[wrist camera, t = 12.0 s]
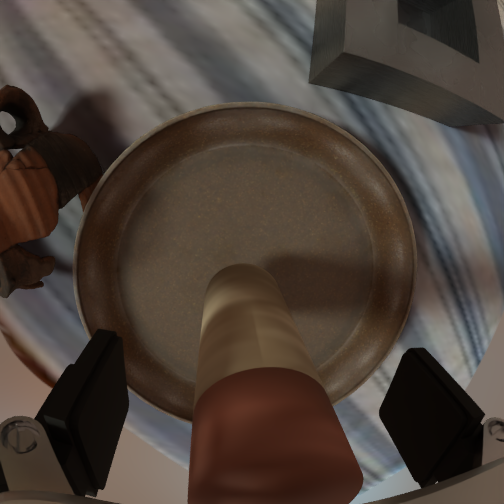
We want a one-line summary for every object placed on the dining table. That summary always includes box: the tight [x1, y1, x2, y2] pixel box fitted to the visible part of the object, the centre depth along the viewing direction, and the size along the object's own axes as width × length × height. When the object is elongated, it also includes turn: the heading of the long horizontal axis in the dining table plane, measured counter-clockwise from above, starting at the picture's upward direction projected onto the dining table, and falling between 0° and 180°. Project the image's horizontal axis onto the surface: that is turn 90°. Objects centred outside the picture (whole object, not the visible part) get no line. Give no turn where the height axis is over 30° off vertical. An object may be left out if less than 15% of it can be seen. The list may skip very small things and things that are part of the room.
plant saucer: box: [73, 102, 417, 424], centre depth 19 cm, size 21×21×3 cm
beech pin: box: [188, 263, 363, 504], centre depth 11 cm, size 4×4×12 cm
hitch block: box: [309, 0, 504, 127], centre depth 13 cm, size 11×11×6 cm
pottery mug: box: [0, 85, 103, 298], centre depth 14 cm, size 12×10×8 cm
